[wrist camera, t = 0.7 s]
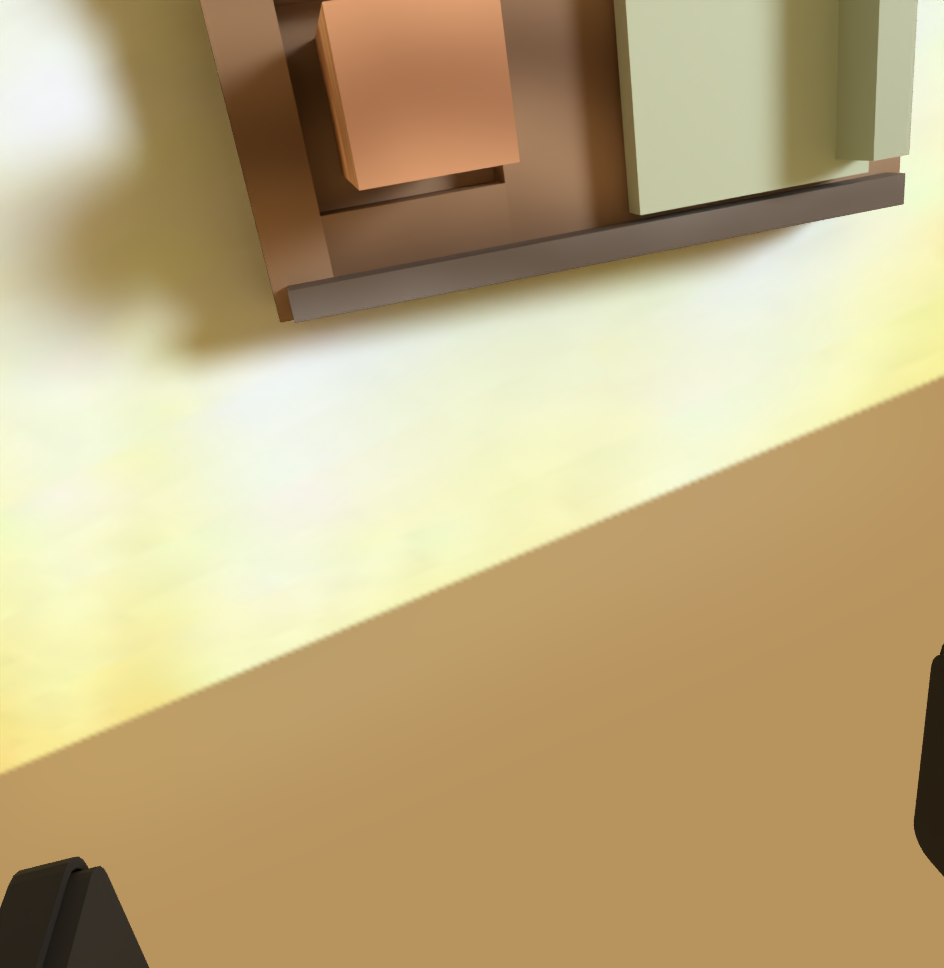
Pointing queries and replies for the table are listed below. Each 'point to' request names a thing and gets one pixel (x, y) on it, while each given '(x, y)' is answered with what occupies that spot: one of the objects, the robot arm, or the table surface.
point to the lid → (759, 94)
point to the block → (416, 88)
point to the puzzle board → (473, 194)
